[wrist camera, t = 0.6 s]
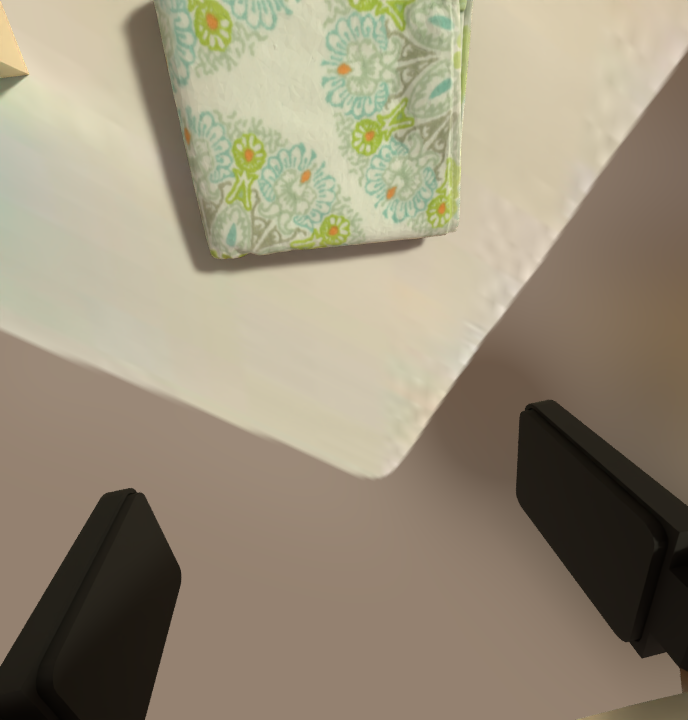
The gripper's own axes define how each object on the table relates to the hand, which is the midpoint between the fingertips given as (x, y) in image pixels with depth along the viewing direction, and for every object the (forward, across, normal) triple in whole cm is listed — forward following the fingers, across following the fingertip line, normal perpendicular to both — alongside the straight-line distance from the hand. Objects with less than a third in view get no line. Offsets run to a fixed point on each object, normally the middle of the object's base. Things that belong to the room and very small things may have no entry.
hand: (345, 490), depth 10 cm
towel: (+29, -4, -11) cm, 31 cm away
